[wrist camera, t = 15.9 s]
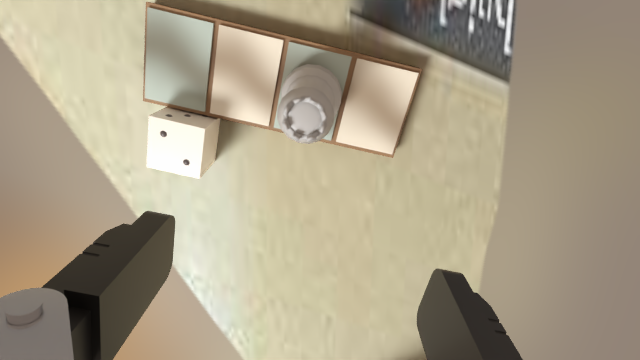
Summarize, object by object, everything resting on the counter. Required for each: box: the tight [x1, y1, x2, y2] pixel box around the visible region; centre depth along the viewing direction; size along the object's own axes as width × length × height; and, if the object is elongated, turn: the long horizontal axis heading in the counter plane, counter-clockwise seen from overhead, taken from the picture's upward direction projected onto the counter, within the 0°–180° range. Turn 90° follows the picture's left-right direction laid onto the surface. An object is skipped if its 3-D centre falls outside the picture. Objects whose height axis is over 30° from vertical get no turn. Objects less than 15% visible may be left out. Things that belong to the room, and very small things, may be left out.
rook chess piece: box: [277, 64, 342, 144], centre depth 23 cm, size 4×4×8 cm
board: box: [143, 2, 422, 158], centre depth 27 cm, size 7×20×1 cm, turn 77°
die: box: [147, 107, 220, 179], centre depth 28 cm, size 4×4×4 cm
